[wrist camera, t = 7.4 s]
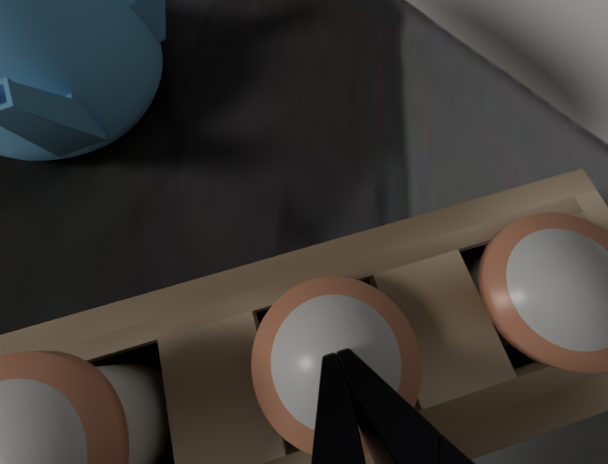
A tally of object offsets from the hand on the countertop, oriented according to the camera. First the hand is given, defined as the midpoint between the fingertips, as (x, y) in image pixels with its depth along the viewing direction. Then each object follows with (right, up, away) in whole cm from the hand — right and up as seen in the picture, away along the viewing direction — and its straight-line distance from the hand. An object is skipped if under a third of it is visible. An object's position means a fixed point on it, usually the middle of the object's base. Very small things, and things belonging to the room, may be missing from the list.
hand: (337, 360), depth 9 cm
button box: (0, -3, +8) cm, 8 cm away
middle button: (0, -2, +5) cm, 5 cm away
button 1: (+8, 0, +6) cm, 10 cm away
